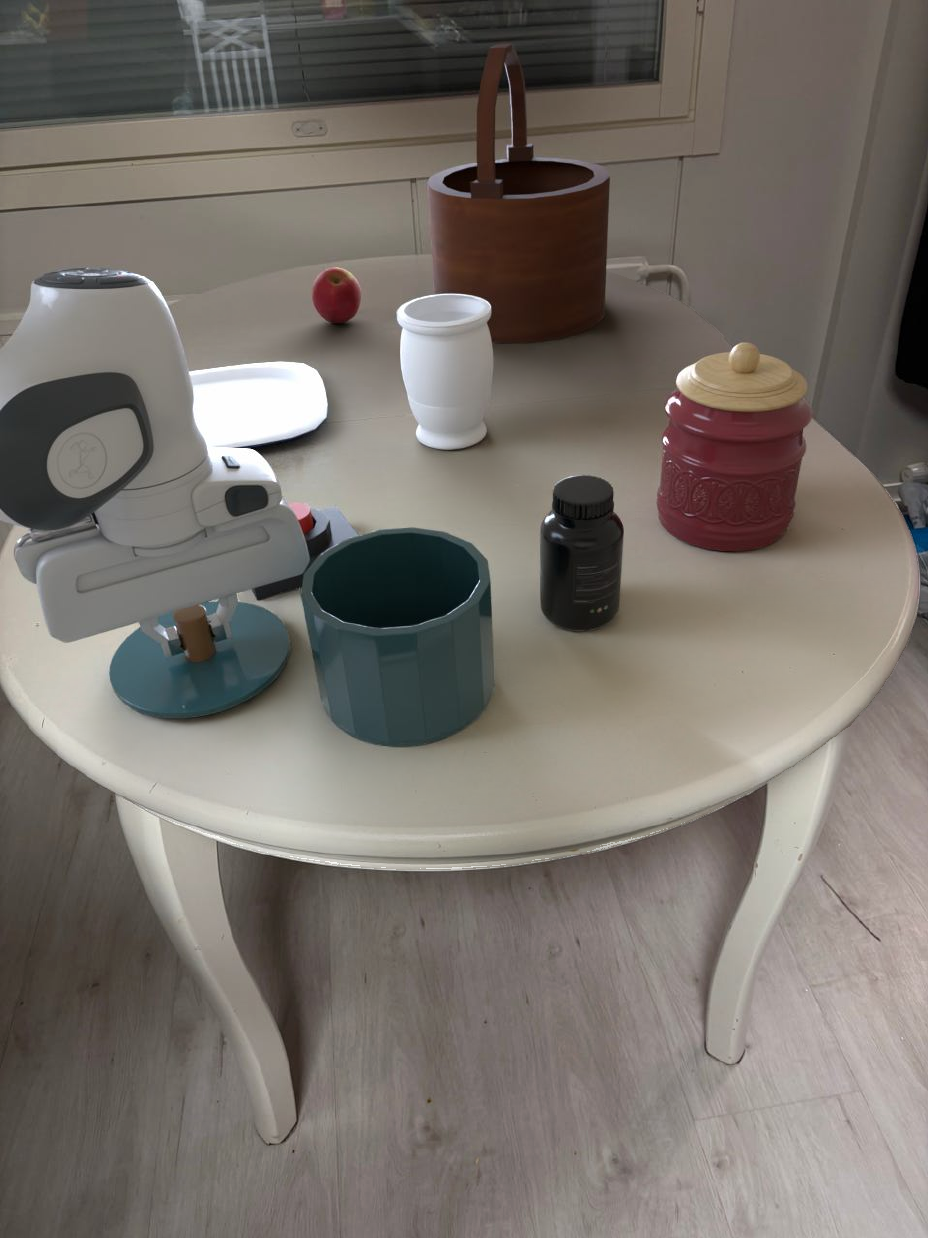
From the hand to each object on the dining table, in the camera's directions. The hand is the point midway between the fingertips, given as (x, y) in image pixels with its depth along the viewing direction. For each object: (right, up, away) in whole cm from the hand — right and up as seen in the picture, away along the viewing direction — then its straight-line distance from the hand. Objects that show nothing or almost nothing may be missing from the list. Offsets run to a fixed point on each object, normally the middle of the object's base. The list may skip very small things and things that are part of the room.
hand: (198, 643), depth 76 cm
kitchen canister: (+47, +12, +15) cm, 51 cm away
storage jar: (+17, -3, -2) cm, 18 cm away
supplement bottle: (+32, +3, +5) cm, 32 cm away
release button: (+6, +11, +11) cm, 16 cm away
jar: (+20, +24, +33) cm, 46 cm away
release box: (+6, +8, +13) cm, 16 cm away
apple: (+3, +48, +67) cm, 82 cm away
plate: (-8, +28, +41) cm, 50 cm away
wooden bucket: (+30, +49, +66) cm, 88 cm away
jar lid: (0, -1, +1) cm, 2 cm away
